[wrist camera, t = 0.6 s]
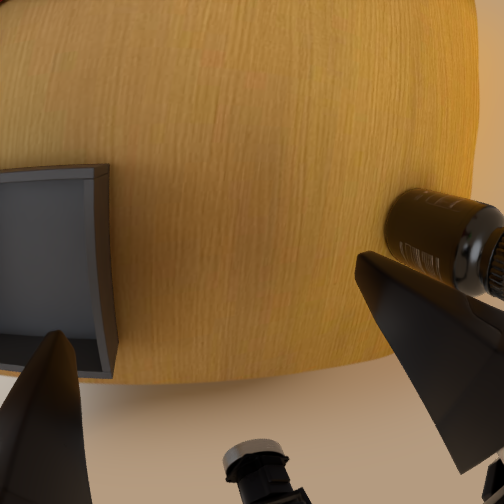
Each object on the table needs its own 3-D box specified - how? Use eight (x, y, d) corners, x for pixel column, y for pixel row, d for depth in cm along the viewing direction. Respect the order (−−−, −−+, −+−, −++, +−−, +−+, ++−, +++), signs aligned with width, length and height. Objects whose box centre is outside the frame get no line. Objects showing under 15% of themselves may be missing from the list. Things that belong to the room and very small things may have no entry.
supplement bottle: (433, 255, 28) (529, 305, 17) (380, 267, 27) (482, 333, 15) (439, 185, 26) (548, 215, 15) (384, 187, 24) (505, 222, 13)
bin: (118, 342, 23) (112, 379, 19) (-19, 333, 19) (-41, 362, 15) (109, 163, 19) (94, 167, 15) (-44, 174, 16) (-79, 183, 11)
